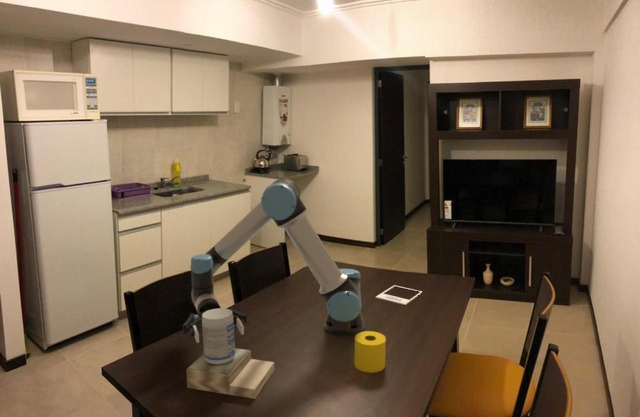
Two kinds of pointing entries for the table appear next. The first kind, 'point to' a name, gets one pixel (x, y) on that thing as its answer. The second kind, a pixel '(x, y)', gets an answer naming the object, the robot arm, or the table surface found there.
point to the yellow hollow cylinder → (370, 351)
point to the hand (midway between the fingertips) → (220, 334)
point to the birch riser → (231, 375)
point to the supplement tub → (218, 335)
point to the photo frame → (396, 299)
